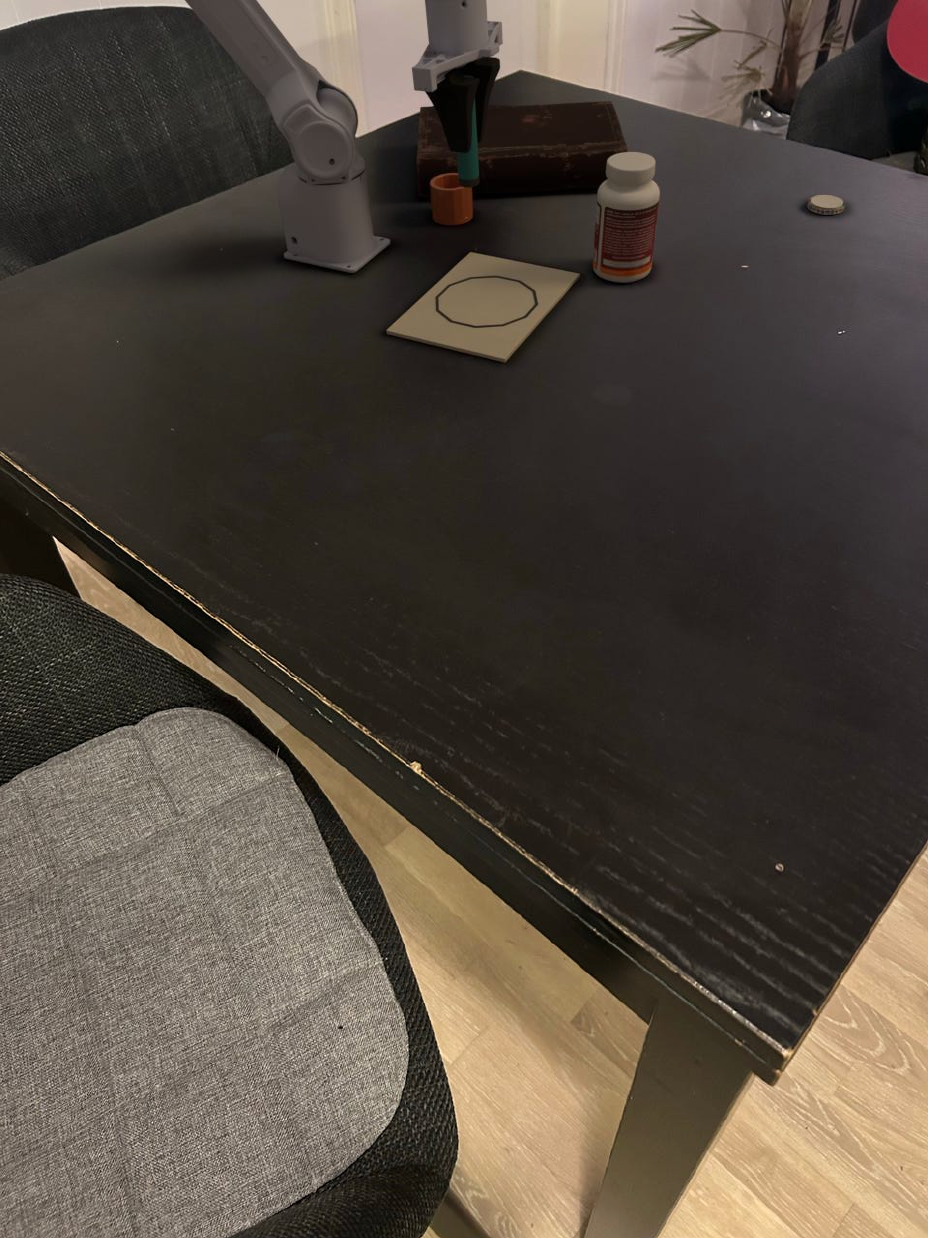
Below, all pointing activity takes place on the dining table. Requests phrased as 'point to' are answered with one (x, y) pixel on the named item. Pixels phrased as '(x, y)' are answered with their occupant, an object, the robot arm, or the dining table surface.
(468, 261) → the sketch pad
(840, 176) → the dining table surface
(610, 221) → the pill bottle
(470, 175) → the marker
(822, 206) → the beige bottle cap
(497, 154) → the diary
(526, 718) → the dining table surface
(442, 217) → the pen cup
